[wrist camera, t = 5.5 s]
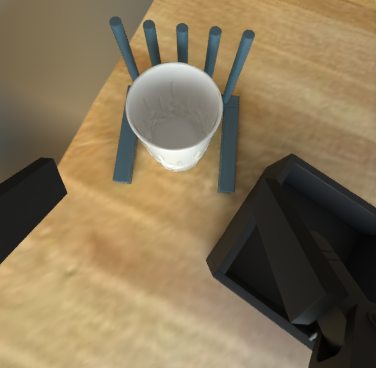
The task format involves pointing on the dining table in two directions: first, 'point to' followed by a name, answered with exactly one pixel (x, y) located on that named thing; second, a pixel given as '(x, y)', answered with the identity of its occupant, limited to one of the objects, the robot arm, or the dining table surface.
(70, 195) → the dining table surface
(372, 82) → the dining table surface
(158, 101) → the white cup
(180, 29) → the drying rack
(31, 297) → the dining table surface
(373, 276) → the black square tray
